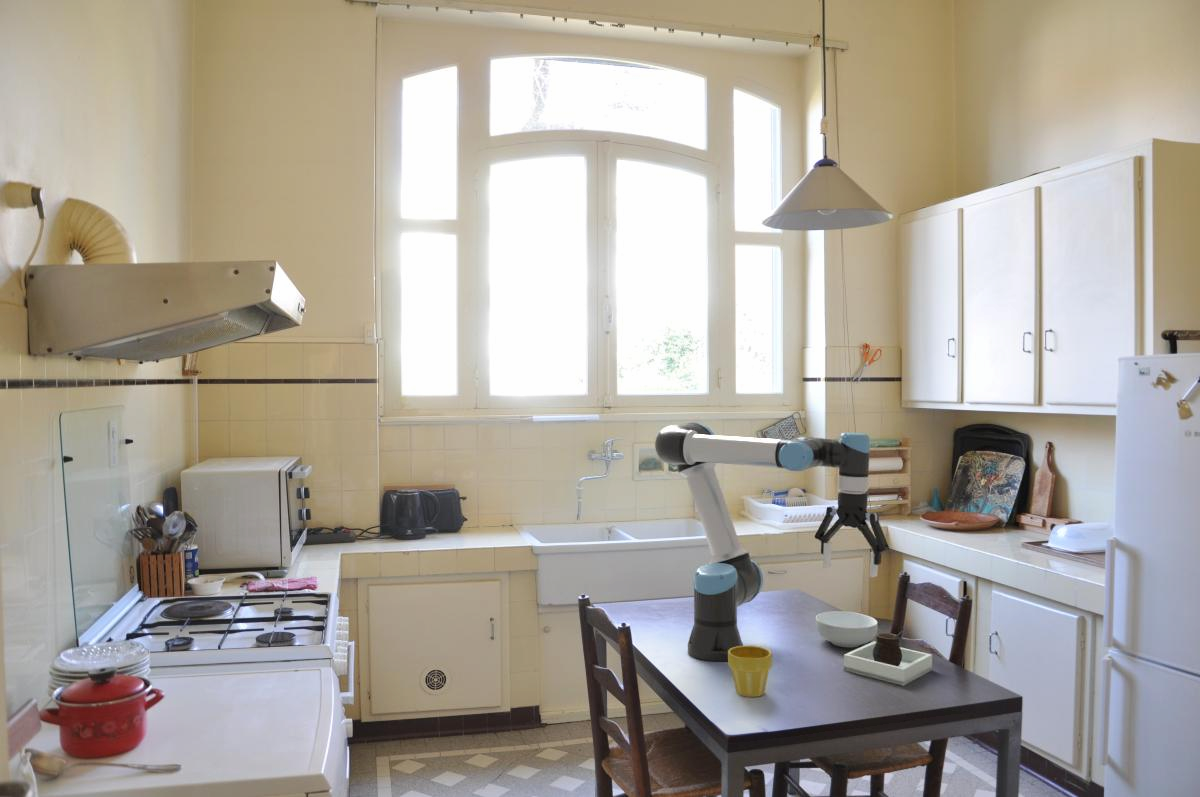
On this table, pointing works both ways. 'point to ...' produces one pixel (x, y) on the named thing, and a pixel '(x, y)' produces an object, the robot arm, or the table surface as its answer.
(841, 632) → the cereal bowl
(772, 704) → the table surface
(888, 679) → the open box
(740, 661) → the plant pot
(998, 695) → the table surface
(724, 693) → the table surface
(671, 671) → the table surface
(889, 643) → the mate gourd
